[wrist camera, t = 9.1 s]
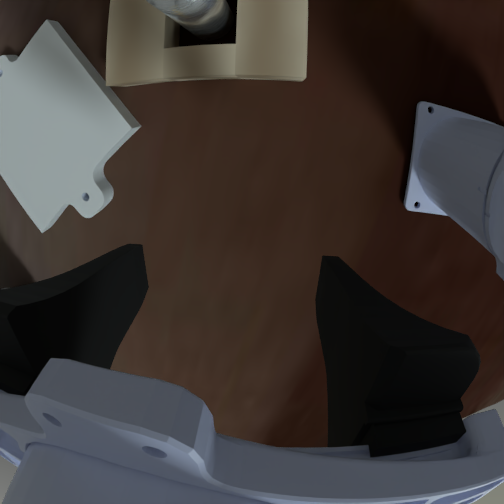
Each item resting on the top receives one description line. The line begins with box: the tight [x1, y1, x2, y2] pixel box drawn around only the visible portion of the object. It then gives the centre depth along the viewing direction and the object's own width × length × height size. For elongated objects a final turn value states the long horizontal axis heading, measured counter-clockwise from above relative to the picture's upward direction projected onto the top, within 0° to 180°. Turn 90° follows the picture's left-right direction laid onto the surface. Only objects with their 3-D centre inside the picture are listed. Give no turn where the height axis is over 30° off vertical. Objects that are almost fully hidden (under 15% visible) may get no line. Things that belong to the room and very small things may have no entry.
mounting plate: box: [0, 19, 141, 233], centre depth 19 cm, size 18×13×2 cm
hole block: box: [106, 0, 308, 86], centre depth 15 cm, size 12×8×3 cm, turn 88°
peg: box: [146, 0, 234, 40], centre depth 12 cm, size 3×3×8 cm
